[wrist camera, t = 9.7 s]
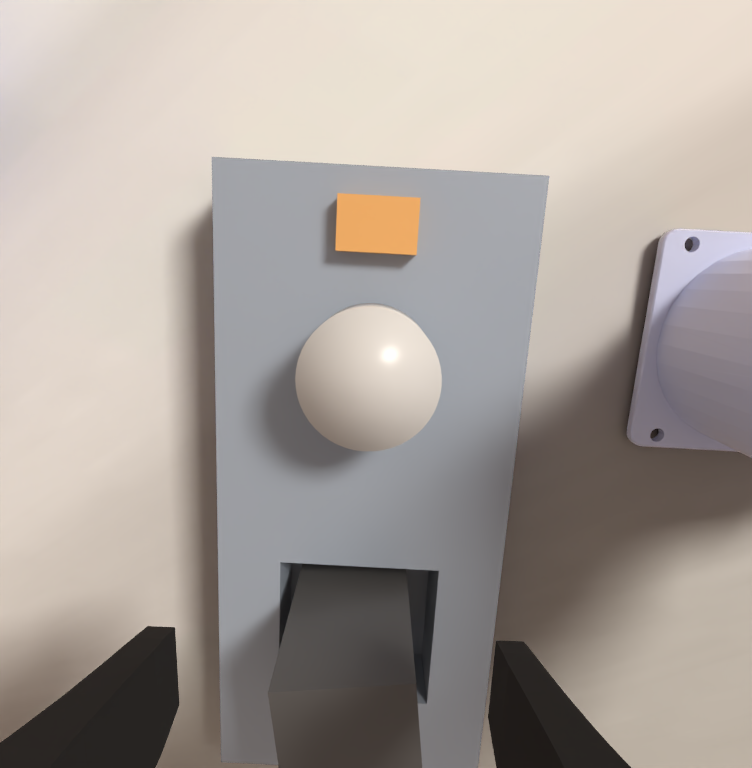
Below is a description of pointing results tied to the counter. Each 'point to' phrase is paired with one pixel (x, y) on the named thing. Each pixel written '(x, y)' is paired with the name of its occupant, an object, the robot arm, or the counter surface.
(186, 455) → the counter surface
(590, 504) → the counter surface
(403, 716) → the plug
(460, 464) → the power strip
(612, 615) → the counter surface
